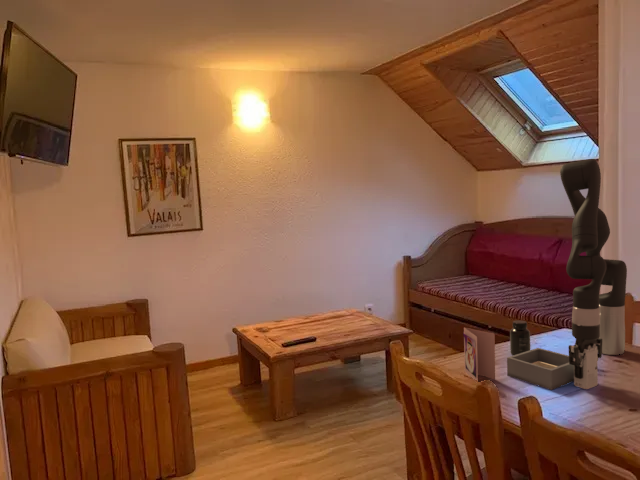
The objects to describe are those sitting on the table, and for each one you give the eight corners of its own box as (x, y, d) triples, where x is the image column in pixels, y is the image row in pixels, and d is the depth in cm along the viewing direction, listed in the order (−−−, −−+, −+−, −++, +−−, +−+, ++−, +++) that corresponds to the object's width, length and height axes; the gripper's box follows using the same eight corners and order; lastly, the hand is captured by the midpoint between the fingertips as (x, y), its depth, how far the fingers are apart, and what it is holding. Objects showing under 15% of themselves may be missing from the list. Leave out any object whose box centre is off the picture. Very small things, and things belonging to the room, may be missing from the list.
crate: (538, 364, 183) (538, 347, 183) (582, 377, 170) (582, 359, 169) (507, 375, 175) (507, 357, 174) (551, 390, 161) (551, 370, 161)
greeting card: (462, 371, 180) (461, 327, 179) (483, 369, 181) (483, 326, 180) (475, 383, 169) (474, 336, 168) (497, 381, 170) (497, 335, 168)
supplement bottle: (532, 352, 196) (532, 320, 195) (528, 358, 190) (528, 325, 189) (512, 350, 200) (512, 318, 199) (508, 355, 194) (507, 323, 193)
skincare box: (587, 390, 160) (587, 350, 159) (572, 385, 164) (572, 346, 163) (598, 385, 163) (598, 346, 162) (584, 381, 167) (584, 342, 166)
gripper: (587, 315, 169) (587, 367, 170) (559, 323, 161) (559, 377, 163) (611, 319, 162) (611, 373, 164) (583, 328, 155) (583, 384, 156)
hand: (585, 375), depth 163 cm, fingers open, 6 cm apart
